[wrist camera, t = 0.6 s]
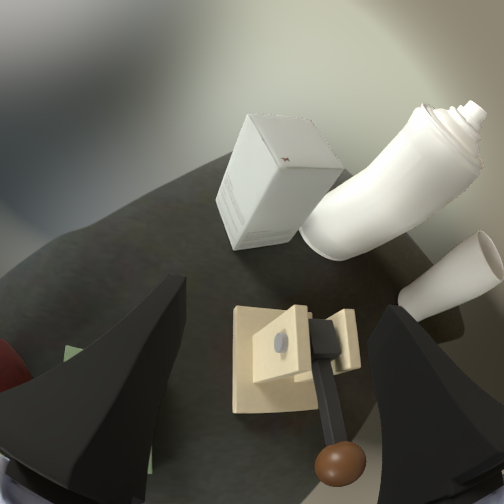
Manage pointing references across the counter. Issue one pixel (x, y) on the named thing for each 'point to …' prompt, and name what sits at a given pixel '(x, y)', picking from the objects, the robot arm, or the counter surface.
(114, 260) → the counter surface
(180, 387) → the counter surface
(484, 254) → the drinking glass
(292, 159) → the white packaging box
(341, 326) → the bracket
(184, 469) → the counter surface
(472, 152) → the spray can
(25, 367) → the potato
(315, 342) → the lever
